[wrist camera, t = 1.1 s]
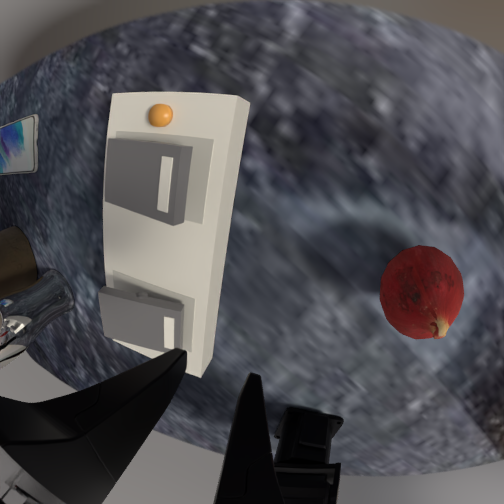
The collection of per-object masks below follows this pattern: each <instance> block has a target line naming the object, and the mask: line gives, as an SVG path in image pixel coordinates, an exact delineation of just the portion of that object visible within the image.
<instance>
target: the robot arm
mask: <svg viewBox="0 0 504 504" xmlns="http://www.w3.org/2000/svg"><path fill="white" fill-rule="evenodd" d="M186 368H187V351H186V350H183V349H181V348H178V347H177V348H174V349H172V350H170V351H168V352H165V353H163V354H161V355H159V356H157V357H155V358H153V359H151V360H149V361H147V362H144V363H142V364H140V365H138V366H136V367H134V368H132V369H129V370H127V371H125V372H123V373H121V374H118V375H116V376H114V377H112V378H109V379H107V380H105V381H103V382H101V384H100V383H98V384H96V385H93V386H91V387H88V388H86V389H83V390H81V391H78V392H75V393H71V394H69V395H65V396H62V397H58V398H54V399H51V400H46V401H43V402H37V403H26V402H21V401H17V400H13V399H9V398H5V397H1V396H0V504H102V502H103V501H104V500H105V498H106V497H107V495H108V494H109V493H110V491H111V489H112V488H113V487H114V485H115V484H116V483H115V482H117V481H118V479H119V478H120V476H121V475H122V474H123V472H124V471H125V469H126V468H127V466H128V465H129V463H130V462H131V460H132V459H133V458H134V456H135V455H136V453H137V451H138V450H139V449H140V447H141V446H142V444H143V443H144V441H145V440H146V438H147V437H148V435H149V434H150V432H151V431H152V429H153V428H154V426H155V425H156V424H157V422H158V421H159V419H160V418H161V416H162V415H163V413H164V412H165V410H166V409H167V407H168V405H169V404H170V402H171V400H172V398H173V396H174V394H175V392H176V390H177V388H178V386H179V384H180V382H181V380H182V378H183V376H184V374H185V371H186ZM343 422H344V420H343V418H339V417H334V416H329V415H323V414H319V413H314V412H309V411H305V410H300V409H296V408H291V407H289V408H287V409H286V411H285V413H284V415H283V418H282V420H281V422H280V424H279V426H278V428H277V430H276V432H275V435H274V437H275V438H276V439H279V443H278V447H277V451H276V454H275V458H274V462H273V455H272V453H271V452H272V449H271V442H270V436H269V429H268V422H267V415H266V408H265V401H264V394H263V387H262V380H261V376H260V375H258V374H255V373H251V372H250V373H249V374H248V376H247V379H246V381H245V383H244V385H243V388H242V390H241V392H240V395H239V397H238V401H237V405H236V409H235V413H234V417H233V422H232V426H231V430H230V434H229V438H228V443H227V447H226V452H225V456H224V460H223V465H222V469H221V473H220V477H219V482H218V486H217V490H216V494H215V499H214V503H213V504H337V499H338V492H339V482H340V471H341V463H336V464H329V458H330V449H331V440H332V438H333V437H334V435H335V434H336V433H337V431H338V430H339V429H340V427H341V426H342V424H343Z"/></svg>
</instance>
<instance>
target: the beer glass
mask: <svg viewBox="0 0 504 504" xmlns="http://www.w3.org/2000/svg"><path fill="white" fill-rule="evenodd" d="M73 308H74V297H73V293H72V290H71V288H70V286H69V284H68V282H67V281H66V279H65V278H64V277H63V276H62V275H61V274H60V273H59V272H58V271H56V270H49V271H47V272H46V273H45V274H44V275H43V276H41V277H40V278H39V279H38V280H37V281H36V282H34V283H32V284H31V285H29V286H27V287H24V288H21V289H18V290H15V291H12V292H10V293H7V294H4V295H2V296H0V369H2V368H4V367H5V366H7V365H8V364H10V363H11V362H12V361H13V360H15V359H16V358H17V357H18V356H20V355H21V354H22V353H23V352H24V351H25V350H26V349H27V348H28V347H29V346H30V345H31V344H32V342H33V341H34V340H35V339H36V338H37V337H38V335H39V334H40V333H41V332H42V331H43V330H44V328H45V327H46V326H47V325H48V324H49V323H51V322H52V321H53V320H54V319H56V318H58V317H60V316H62V315H64V314H66V313H69V312H71V311H72V310H73Z"/></svg>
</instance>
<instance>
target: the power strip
mask: <svg viewBox="0 0 504 504" xmlns="http://www.w3.org/2000/svg"><path fill="white" fill-rule="evenodd" d="M249 107H250V102H248V101H246V100H244V99H242V98H241V97H239V96H235V95H224V94H211V93H192V92H133V93H115V94H113V95H112V102H111V108H110V116H109V123H108V132H107V142H106V153H105V167H104V188H103V241H104V262H105V277H106V287H110V288H114V289H118V290H122V291H126V292H130V293H135V294H136V293H138V292H146V293H147V294H148V297H152V298H156V299H161V300H165V301H170V302H175V303H180V304H184V324H183V350H186V351H187V368H186V371H185V372H186V373H189V374H192V375H194V376H197V377H200V378H201V376H202V375H203V373H204V371H205V369H206V368H207V366H208V364H209V363H210V361H211V359H212V355H213V346H214V338H215V330H216V322H217V315H218V307H219V299H220V292H221V285H222V277H223V270H224V263H225V256H226V249H227V242H228V235H229V229H230V222H231V216H232V209H233V203H234V196H235V190H236V184H237V178H238V171H239V165H240V159H241V153H242V147H243V142H244V136H245V130H246V124H247V119H248V113H249ZM108 138H125V139H136V140H146V141H159V142H163V143H171V144H179V145H186V146H193V150H192V157H191V165H190V172H189V181H188V189H187V198H186V208H185V218H184V223H181V224H178V225H175V226H171V225H169V224H166V223H163V222H160V221H158V220H155V219H152V218H149V217H147V216H144V215H141V214H138V213H136V212H133V211H130V210H127V209H125V208H122V207H119V206H116V205H114V204H111V203H108V202H105V175H106V159H107V147H108ZM113 340H114V341H116V342H118V343H120V344H122V345H124V346H126V347H128V348H130V349H133V350H135V351H137V352H139V353H141V354H143V355H146V356H148V357H150V358H152V359H153V358H155V357H157V356H159V355H161V354H163V353H164V352H160V351H156V350H152V349H148V348H144V347H140V346H137V345H133V344H129V343H126V342H122V341H119V340H116V339H113Z"/></svg>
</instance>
